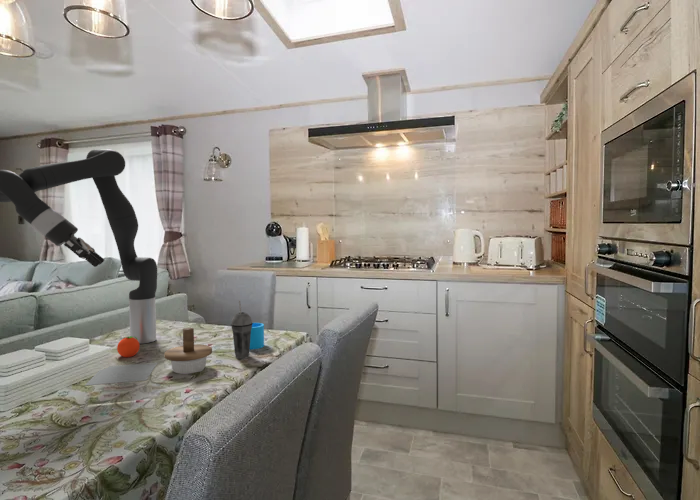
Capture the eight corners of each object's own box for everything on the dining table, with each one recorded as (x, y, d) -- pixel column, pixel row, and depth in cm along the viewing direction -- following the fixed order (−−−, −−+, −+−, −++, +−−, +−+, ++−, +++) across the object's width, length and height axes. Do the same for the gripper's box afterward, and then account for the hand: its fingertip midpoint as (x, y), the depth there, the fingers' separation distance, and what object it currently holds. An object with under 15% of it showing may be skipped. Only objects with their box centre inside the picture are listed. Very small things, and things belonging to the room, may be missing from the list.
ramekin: (191, 378, 122) (190, 361, 122) (161, 373, 126) (161, 357, 125) (215, 366, 132) (215, 350, 132) (187, 362, 136) (187, 347, 136)
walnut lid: (169, 349, 134) (168, 325, 133) (213, 346, 137) (213, 322, 137) (160, 362, 120) (159, 336, 120) (209, 359, 124) (209, 333, 123)
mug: (264, 348, 152) (264, 327, 151) (241, 350, 150) (241, 328, 149) (263, 340, 163) (263, 320, 163) (242, 341, 161) (242, 321, 161)
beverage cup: (256, 354, 144) (256, 298, 143) (245, 361, 137) (244, 302, 136) (239, 352, 147) (238, 297, 146) (227, 358, 140) (226, 301, 139)
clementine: (129, 352, 147) (129, 333, 146) (146, 353, 145) (146, 334, 145) (112, 359, 139) (111, 338, 139) (130, 360, 138) (129, 340, 137)
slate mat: (103, 368, 130) (103, 366, 130) (157, 364, 134) (157, 362, 134) (84, 387, 115) (84, 385, 115) (146, 381, 119) (146, 380, 119)
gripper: (59, 217, 117) (107, 256, 122) (70, 218, 130) (112, 253, 135) (37, 236, 115) (86, 274, 120) (50, 235, 128) (94, 270, 133)
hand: (100, 263), depth 128 cm, fingers open, 8 cm apart
